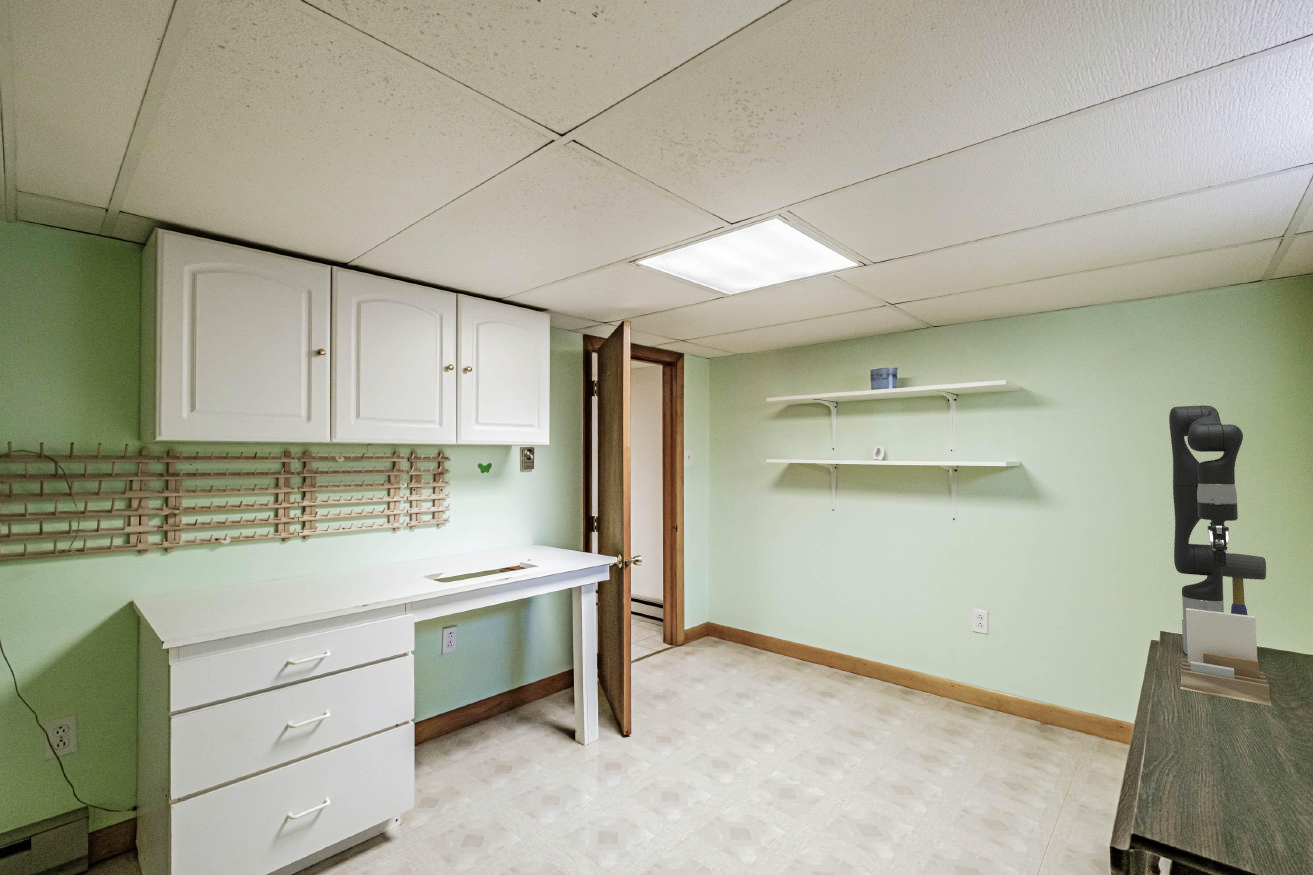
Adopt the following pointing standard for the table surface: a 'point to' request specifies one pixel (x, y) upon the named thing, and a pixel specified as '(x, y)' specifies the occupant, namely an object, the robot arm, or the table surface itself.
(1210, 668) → the offcut grey
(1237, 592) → the rubber mallet
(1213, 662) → the offcut oak
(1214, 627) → the sheet
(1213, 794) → the table surface
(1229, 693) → the rack
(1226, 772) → the table surface
